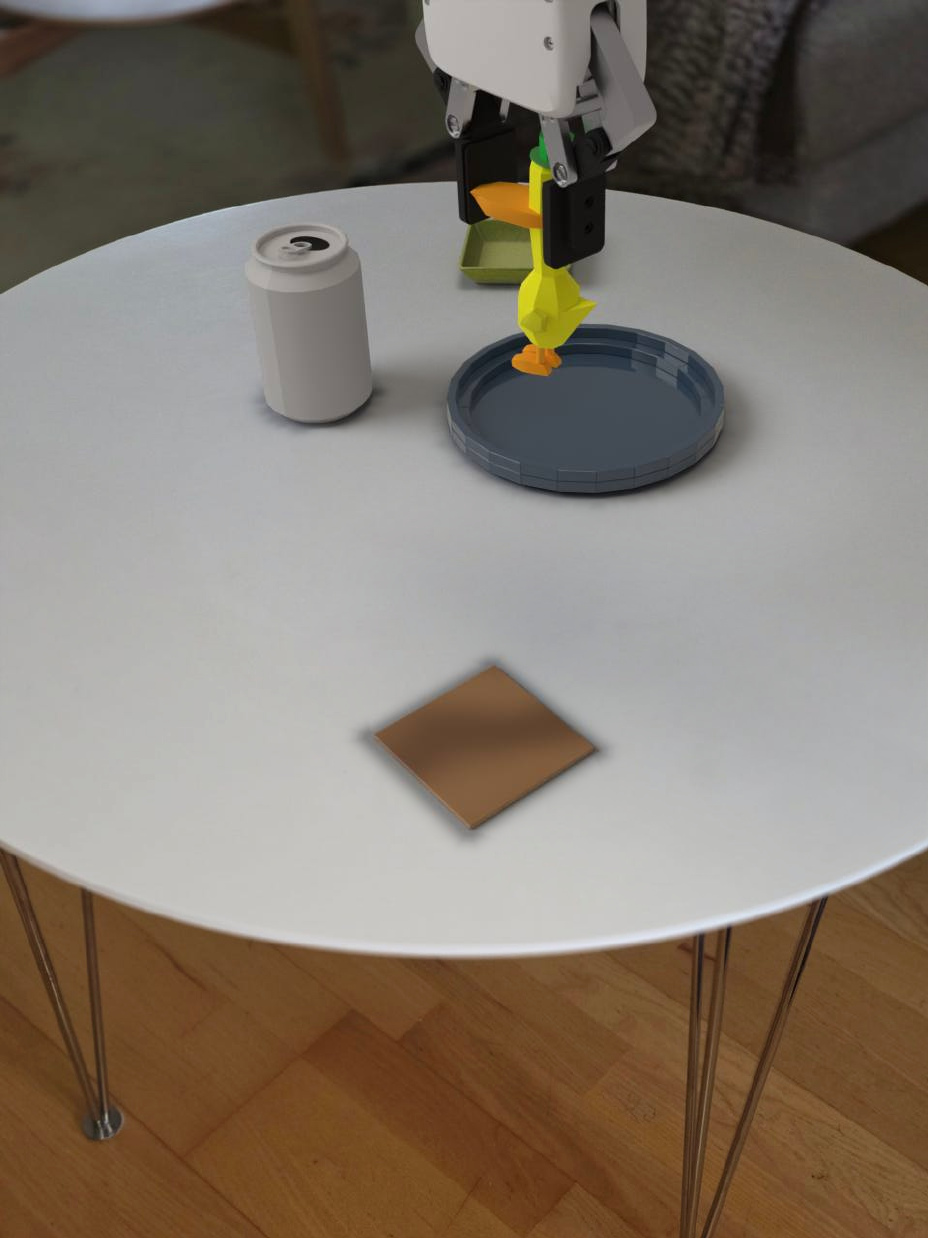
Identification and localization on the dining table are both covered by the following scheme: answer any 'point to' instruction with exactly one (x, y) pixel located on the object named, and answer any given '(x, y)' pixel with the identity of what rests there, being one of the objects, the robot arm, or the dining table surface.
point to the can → (309, 321)
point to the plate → (588, 411)
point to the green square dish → (497, 253)
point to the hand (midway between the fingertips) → (530, 232)
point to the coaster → (483, 745)
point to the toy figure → (537, 269)
